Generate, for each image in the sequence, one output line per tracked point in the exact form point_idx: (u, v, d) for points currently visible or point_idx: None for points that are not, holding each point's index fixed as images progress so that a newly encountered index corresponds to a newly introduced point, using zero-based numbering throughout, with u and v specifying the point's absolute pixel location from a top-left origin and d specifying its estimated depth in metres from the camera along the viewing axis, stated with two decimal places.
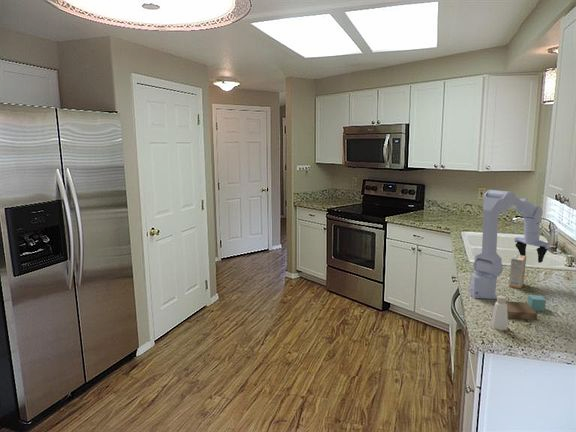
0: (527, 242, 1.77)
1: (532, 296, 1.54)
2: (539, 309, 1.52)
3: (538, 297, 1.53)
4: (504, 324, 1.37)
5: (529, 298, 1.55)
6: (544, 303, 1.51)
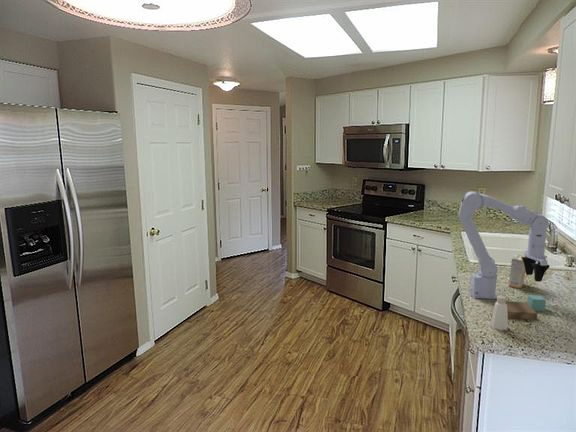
0: (527, 255, 1.59)
1: (532, 296, 1.54)
2: (539, 309, 1.52)
3: (538, 297, 1.53)
4: (504, 324, 1.37)
5: (529, 298, 1.55)
6: (544, 303, 1.51)
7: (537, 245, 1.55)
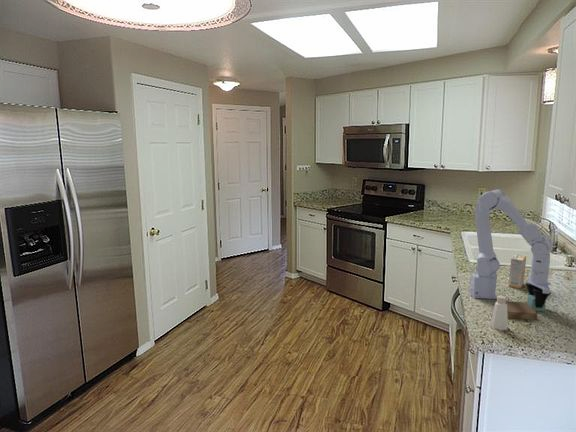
0: (530, 281, 1.53)
1: (532, 296, 1.54)
2: (539, 309, 1.52)
3: None
4: (504, 324, 1.37)
5: (529, 298, 1.55)
6: (544, 303, 1.51)
7: (536, 271, 1.50)
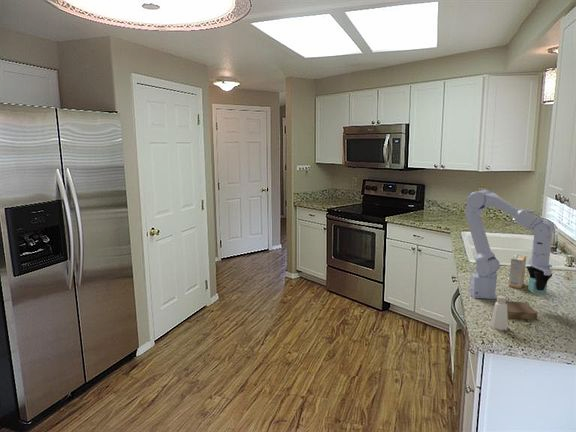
0: (531, 263, 1.52)
1: (533, 279, 1.53)
2: (540, 291, 1.50)
3: None
4: (504, 324, 1.37)
5: (530, 281, 1.53)
6: None
7: (537, 253, 1.48)
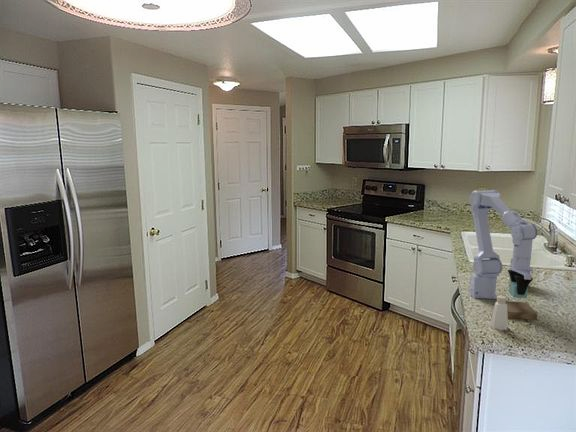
0: (511, 267, 1.48)
1: (514, 283, 1.49)
2: (521, 296, 1.46)
3: None
4: (504, 324, 1.37)
5: (511, 285, 1.49)
6: (526, 290, 1.46)
7: (514, 255, 1.46)
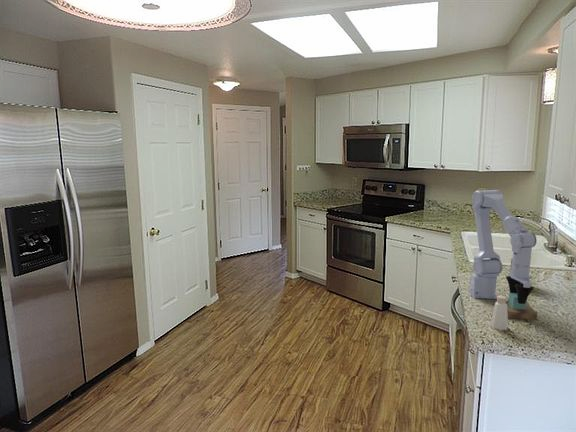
0: (511, 275, 1.48)
1: (513, 294, 1.50)
2: (520, 307, 1.47)
3: None
4: (504, 324, 1.37)
5: (510, 296, 1.50)
6: None
7: (513, 263, 1.46)
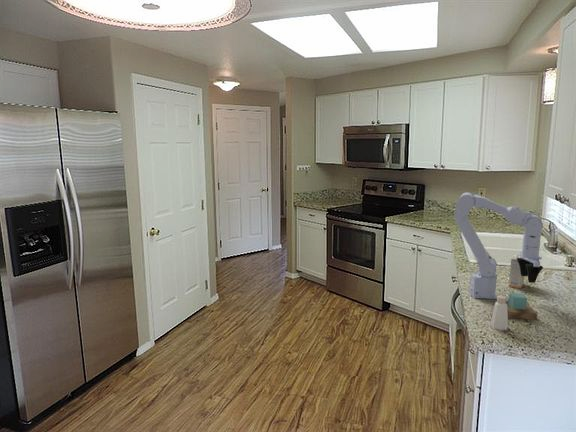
0: (521, 256, 1.58)
1: (513, 294, 1.50)
2: (520, 307, 1.47)
3: (519, 295, 1.48)
4: (504, 324, 1.37)
5: (510, 296, 1.50)
6: (525, 301, 1.46)
7: (530, 246, 1.54)
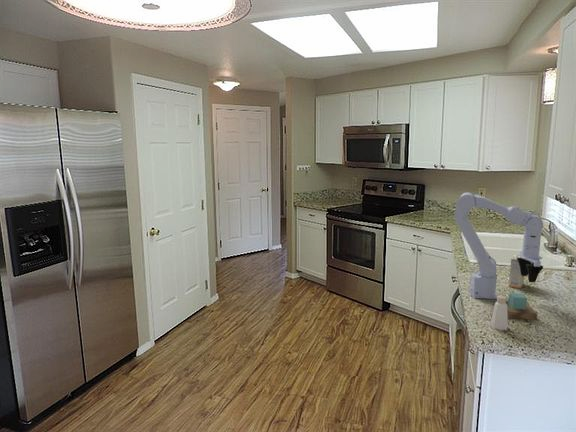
0: (522, 255, 1.58)
1: (513, 294, 1.50)
2: (520, 307, 1.47)
3: (519, 295, 1.48)
4: (504, 324, 1.37)
5: (510, 296, 1.50)
6: (525, 301, 1.46)
7: (531, 246, 1.55)
